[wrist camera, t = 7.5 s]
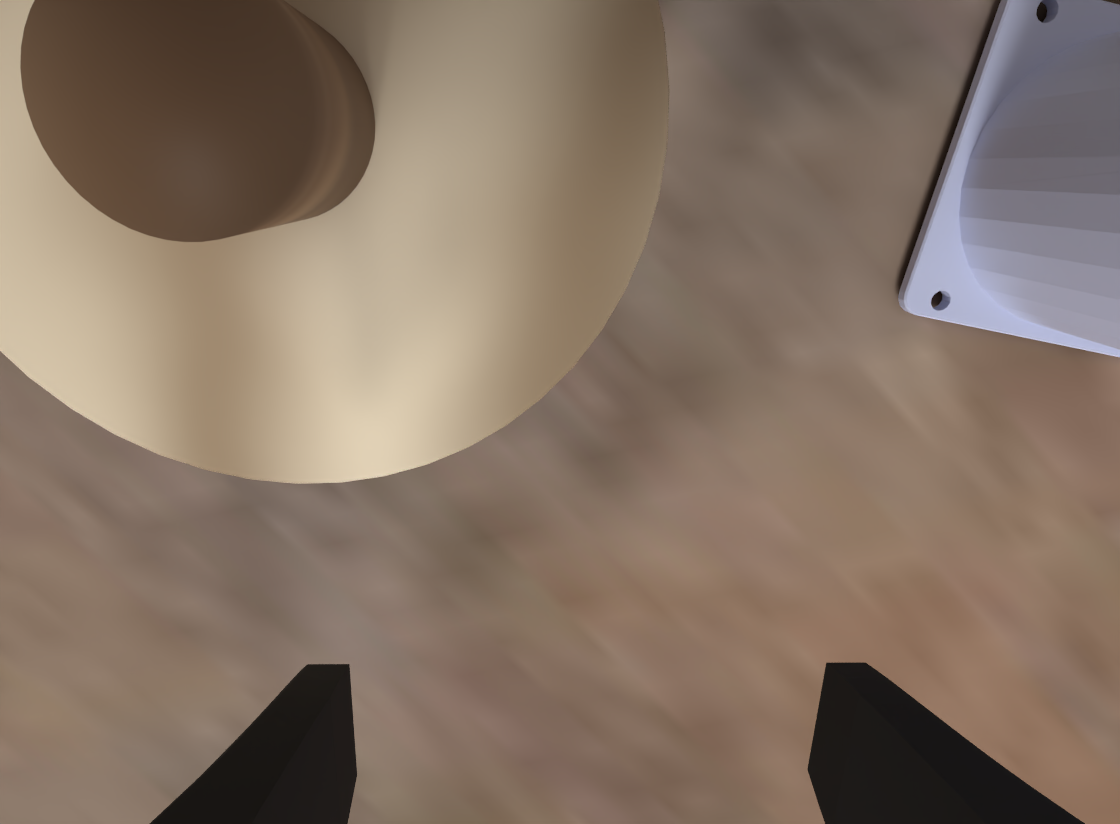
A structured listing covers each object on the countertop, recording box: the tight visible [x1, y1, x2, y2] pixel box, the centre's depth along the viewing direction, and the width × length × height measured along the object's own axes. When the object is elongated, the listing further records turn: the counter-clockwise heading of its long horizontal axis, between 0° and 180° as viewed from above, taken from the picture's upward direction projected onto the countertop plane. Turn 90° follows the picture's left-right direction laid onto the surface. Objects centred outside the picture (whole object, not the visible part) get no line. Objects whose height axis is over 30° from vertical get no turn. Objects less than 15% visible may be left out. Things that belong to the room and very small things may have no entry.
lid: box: [0, 0, 669, 483], centre depth 11 cm, size 14×14×5 cm
